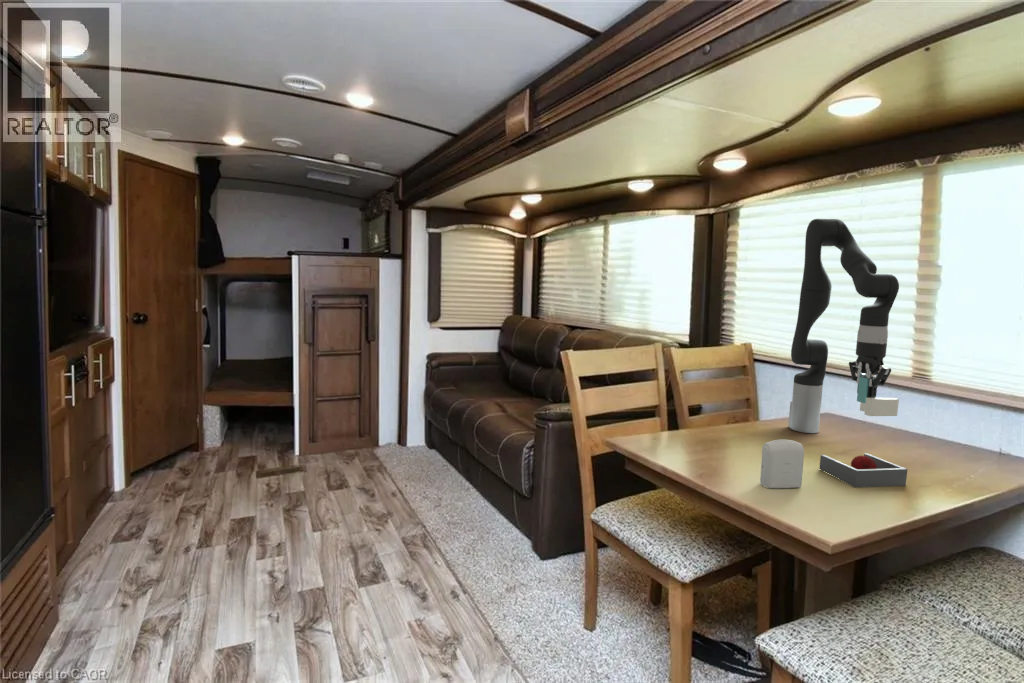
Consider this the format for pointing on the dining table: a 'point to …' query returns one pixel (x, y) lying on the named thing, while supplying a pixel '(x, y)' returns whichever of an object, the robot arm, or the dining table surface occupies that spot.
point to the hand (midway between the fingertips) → (866, 396)
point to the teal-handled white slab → (875, 402)
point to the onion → (863, 463)
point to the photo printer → (782, 464)
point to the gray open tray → (866, 472)
